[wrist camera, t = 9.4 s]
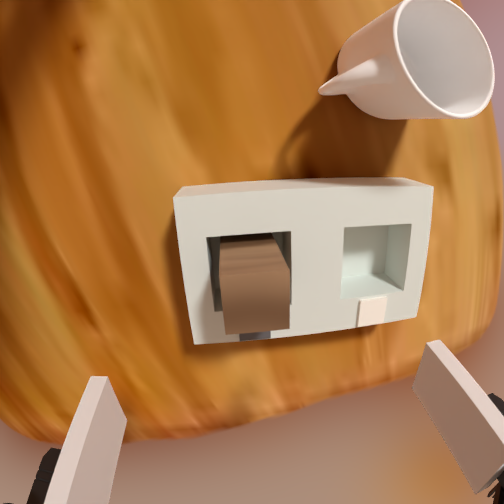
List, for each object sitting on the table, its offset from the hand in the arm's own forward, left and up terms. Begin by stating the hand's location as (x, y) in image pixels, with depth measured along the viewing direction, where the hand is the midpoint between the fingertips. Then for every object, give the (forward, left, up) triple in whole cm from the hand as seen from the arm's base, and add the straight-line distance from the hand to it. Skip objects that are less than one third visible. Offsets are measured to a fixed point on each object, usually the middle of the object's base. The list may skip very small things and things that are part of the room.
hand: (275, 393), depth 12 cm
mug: (-15, +11, -18) cm, 26 cm away
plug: (0, 0, -17) cm, 17 cm away
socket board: (0, +5, -18) cm, 18 cm away
